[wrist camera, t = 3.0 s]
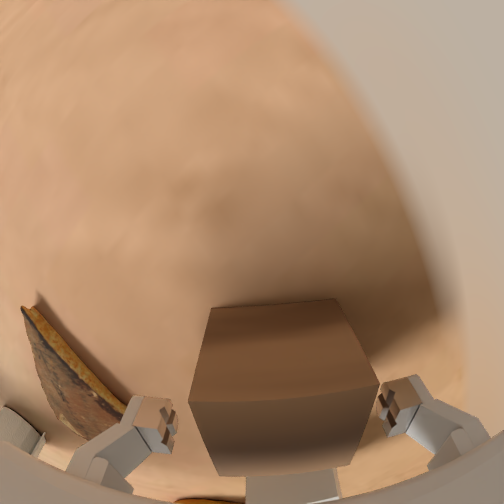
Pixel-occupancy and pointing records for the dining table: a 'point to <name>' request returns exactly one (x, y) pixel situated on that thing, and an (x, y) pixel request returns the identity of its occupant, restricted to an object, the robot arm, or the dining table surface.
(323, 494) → the grey cube
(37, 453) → the paper towel roll
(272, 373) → the walnut cube
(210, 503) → the decorated donut
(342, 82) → the dining table surface
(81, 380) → the shard
